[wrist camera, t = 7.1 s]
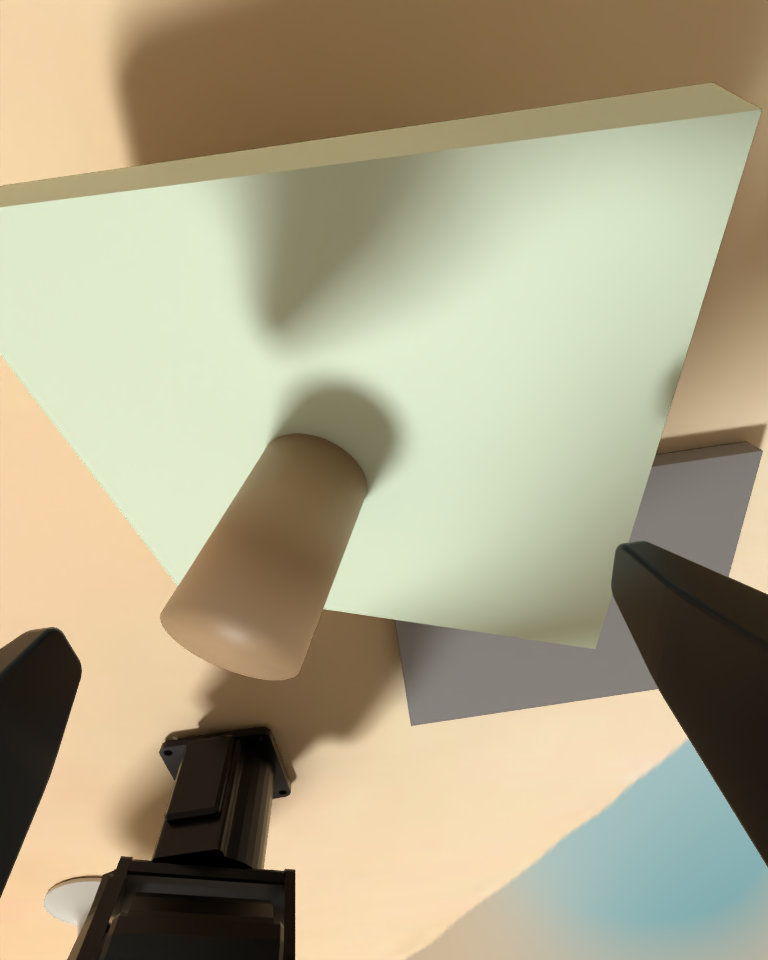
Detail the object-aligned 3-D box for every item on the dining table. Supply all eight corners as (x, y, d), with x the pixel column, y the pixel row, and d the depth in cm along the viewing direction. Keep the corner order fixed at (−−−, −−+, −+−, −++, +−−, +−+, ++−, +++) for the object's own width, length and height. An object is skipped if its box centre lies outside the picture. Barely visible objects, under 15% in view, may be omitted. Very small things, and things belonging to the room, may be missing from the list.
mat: (688, 668, 29) (699, 682, 28) (409, 710, 29) (411, 725, 28) (745, 441, 22) (762, 450, 21) (376, 495, 22) (377, 506, 21)
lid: (590, 578, 18) (607, 831, 12) (211, 536, 22) (102, 708, 17) (712, 82, 8) (1023, 254, 3) (-2, 186, 13) (-414, 327, 7)
